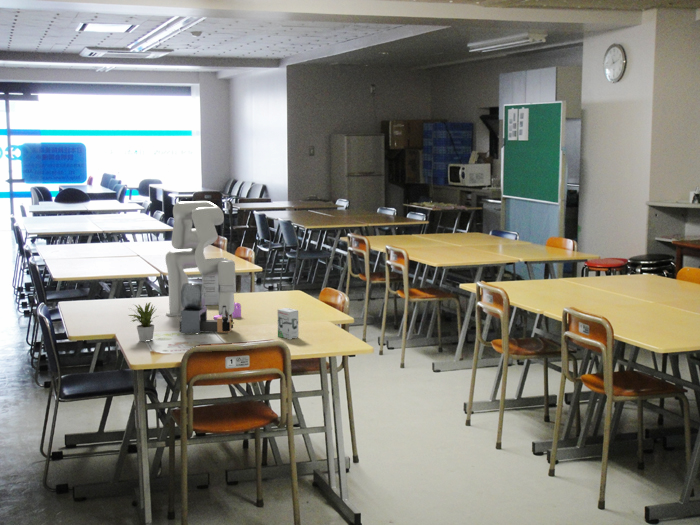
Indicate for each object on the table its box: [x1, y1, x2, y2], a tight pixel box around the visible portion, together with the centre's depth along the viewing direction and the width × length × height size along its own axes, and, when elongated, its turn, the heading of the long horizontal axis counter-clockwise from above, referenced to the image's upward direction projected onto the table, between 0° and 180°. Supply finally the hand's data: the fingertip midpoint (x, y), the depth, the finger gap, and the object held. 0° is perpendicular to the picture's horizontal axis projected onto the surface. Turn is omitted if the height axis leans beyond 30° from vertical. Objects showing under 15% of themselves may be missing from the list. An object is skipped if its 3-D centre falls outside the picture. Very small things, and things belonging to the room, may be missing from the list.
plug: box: [179, 317, 235, 334], centre depth 341 cm, size 5×23×6 cm, turn 85°
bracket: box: [213, 301, 242, 320], centre depth 371 cm, size 13×6×7 cm, turn 132°
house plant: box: [128, 302, 158, 342], centre depth 324 cm, size 14×14×16 cm
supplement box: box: [201, 274, 219, 306], centre depth 409 cm, size 10×9×17 cm
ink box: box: [277, 307, 299, 340], centre depth 327 cm, size 9×5×12 cm, turn 44°
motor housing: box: [180, 282, 208, 335], centre depth 340 cm, size 12×8×21 cm, turn 175°
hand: (227, 329), depth 340 cm, fingers closed on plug, 5 cm apart
